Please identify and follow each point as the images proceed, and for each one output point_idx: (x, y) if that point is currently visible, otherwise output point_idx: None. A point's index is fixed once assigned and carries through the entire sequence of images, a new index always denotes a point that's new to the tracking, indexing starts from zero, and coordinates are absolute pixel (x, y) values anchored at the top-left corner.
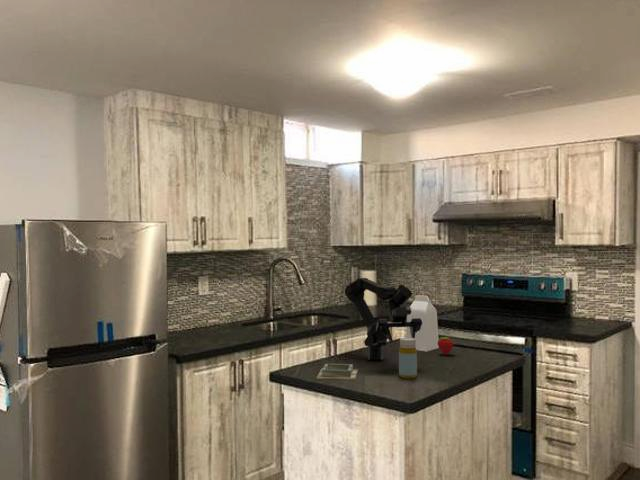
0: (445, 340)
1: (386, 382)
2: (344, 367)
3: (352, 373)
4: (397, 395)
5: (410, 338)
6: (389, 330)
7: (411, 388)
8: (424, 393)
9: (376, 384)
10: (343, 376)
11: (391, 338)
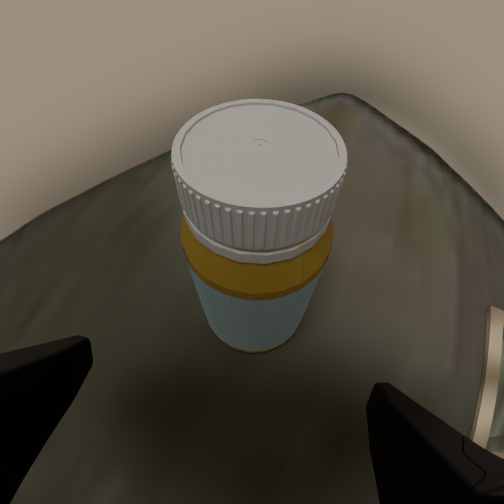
0: None
1: (382, 246)
2: None
3: (495, 390)
4: (366, 130)
5: (204, 170)
6: (470, 482)
7: None
8: None
9: (420, 233)
10: None
11: (398, 399)
